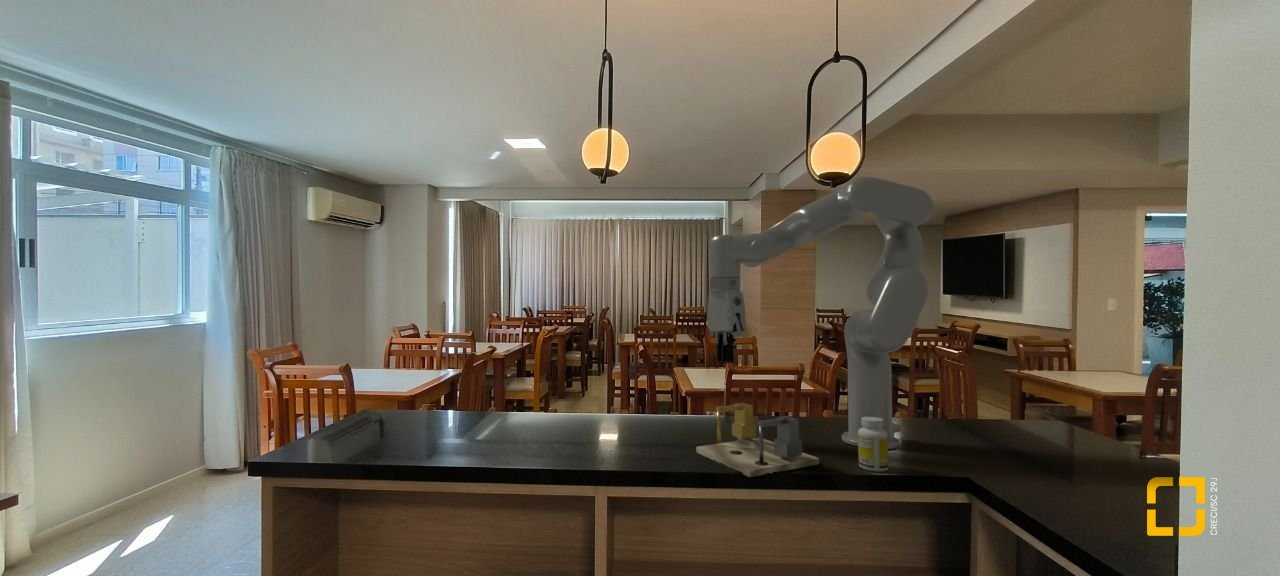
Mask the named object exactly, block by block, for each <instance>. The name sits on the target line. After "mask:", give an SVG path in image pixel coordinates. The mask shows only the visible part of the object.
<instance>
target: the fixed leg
mask: <svg viewBox="0 0 1280 576" xmlns="http://www.w3.org/2000/svg"><path fill="white" fill-rule="evenodd" d="M799 421H800V419H798V418H795V417H792V416H788V415H782V416H776V418H772V419H765V420H758V421H757V426H758V434H759V436H758V438H759V463H764V453H763V439H764V428H767V427H775V426H776V432H777V433H776V435H777V436H776V438H774V440H773V442H774V453H776V454H779V455H782V456H784V457H793V456H799V455H802V452H803V442H802V440H800V425H799V424H800V422H799Z"/></svg>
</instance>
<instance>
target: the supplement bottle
mask: <svg viewBox="0 0 1280 576" xmlns="http://www.w3.org/2000/svg"><path fill="white" fill-rule="evenodd" d="M861 423H862V426H863V428H860V429H859V430H858V446H857V447H858V448H857V451H858V454H857V455H858V465H859V467H860V468H862V469H863V470H866V471H868V472H878V473H879V472H881V473H882V472H886V471H888V470H889V449H888V436H887V432H886V431H884V430H883V429H882V427H883V425H884V424H883V419H881V418H877V417H862V418H861Z"/></svg>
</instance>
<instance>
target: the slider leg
mask: <svg viewBox="0 0 1280 576" xmlns="http://www.w3.org/2000/svg"><path fill="white" fill-rule="evenodd" d="M715 409H716V410H715V411H716V444H719V443H722V441H721V437H722V433H721V431H722V429H721V427H722V422H721V421H722V419H721V417H722V416H721V415H722V413H726V412H727V413H728V412H734V422H732V423H731V436H733V437H735V438H736V439H738V438H740V439H747V438H750V439H753V438H757V424H754V405H752V404H748V403H745V402H740V403H739V402H737V403H734V404H732V405H721V406H716V407H715Z"/></svg>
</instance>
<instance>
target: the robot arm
mask: <svg viewBox="0 0 1280 576" xmlns="http://www.w3.org/2000/svg"><path fill="white" fill-rule="evenodd" d="M934 208H935V206H934V201H933V199H932V197H931V196H930V195H929V193H927V192H926V191H925V190H922V189H920V188H918V187H915V186H910V185H906V184H902V183H898V182H893V181H890V180H886V179H882V178H877V177H871V176H860V177H855V178H854V179H852V180H851V181H849V182H847V184H845V185H843V186H841V187H840V188H838V189H836V190H833V191H831V192H830V193H828V194H826V195H824V196H822V197H820V198H818V199H816V200H814V201H812V202H810V203H807V204H806V205H804V206H802V207H800V208H798V209H797V210H795V211H794V212H792V213H790V214H789V215H788V216H786V217H785V218H784V219H782V220H780V221H779V222H778V223H776V224H774V225H773V226H771V227H768V228H767V229H765V230H763V231H761V232H759V233H758V232H756V233H749V234H743V235H741V234H740V235H734V234H733V235H732V234H718V235H714V236H712V237H711V238H710V240H709V246H708V247H709V295H708V300H707V313H706V315H707V316H706V320H707V329H708V330H709V335H710V336H712V337H713V339H714V344H715V345H716V361H718V362H723V363H724V362H727V363H729V362H734V345H736V341H737V339H739V338H741V337H742V336H743V332H745V331H746V328H747V322H746V321H747V319H746V306H745V305H746V304H745V298H744V294H743V293H744V292H743V291H742V290H741V265H743V266H744V267H747V268H757V267H759V266H761V265H763V264H765V263H768V261H770V260H772V259H775V258H776V257H778V256H781V255H782V254H784V253H786V252H788V251H790V250H793V249H795V248H798V247H800V246H803V245H806V244H808V243H811V242H813V241H816V240H817V239H819V238H821V237H823V236H825V235H828V234H829V233H831V232H833V231H835V230H837V229H838V228H840V227H843V226H844V225H846V224H849V223H851V222H853V221H854V220H857V219H859V218H860V217H862V216H863V215H866V214H870V215H873V216H874V219H875V220H874V221H875V223H876V225H877V226H876V227H878V228H879V230H880V232H881V234H882V236H883V238H884V239H883V240H884V247H883V251H882V254H881V255H880V259H879V260H878V263H877V265H876V267H875V269H874V271H873V273H872V276H871V278H870V280H869V282H868V284H867V287H866V297H867V299H868V301H869V302H870V303H871V304H872V305H874V306H873V309H863V310H858V311H856V312H854V313H853V314H851V315H850V316H849V318H848V319H847V320H846V322H845V324H844V328H843V329H844V330H843V333H844V335H843V336H844V342H845V343H844V344H845V348H846V349H845V350H846V355H847V356H846V357H847V403H848V404H847V408H848V409H847V410H848V411H847V414H848V415H847V416H848V425H847V426H848V431H845V432H843V433H841V440H842V441H843V442H845V443H846V444H849V445H851V446H855V447H858V430H859V429H860V428H863V426H862V423H861V418H862V417H877V418H881V419H883V424H884V425H883V427H882V429H883V430H884V431H886V432H887V436H888V450H891V449H897V448H899V447H900V446H901V440H900V439H899V438H898V437H896V436H895V433H898V432H899V433H901V432H903V431H904V426H903V424H902V423H893V397H892V396H893V395H892V394H893V391H892V390H893V388H892V383H893V382H892V378H893V377H892V375H893V373H892V363H891V358H890V357H891V356H890V353H892V352H895V351H898V350H900V349H901V348H902V347H904V345H905V344H906V343H907V341H909V338H910V336H911V335H912V332H913V330H914V328H915V326H916V323H917V322H918V320H919V318H920V315H921V313H922V311H923V309H924V307H925V304H926V301H927V299H928V294H929V284H928V281H927V278H926V277H925V275H924V274H923V273H922V272H921V271H920V270H919V266H920V264H921V262H922V259H923V255H924V248H925V247H924V241H923V239H922V238H923V237H922V235H921V233H920V230H919V228H918V226H921V225H923V224H924V223H926V222H927V221H929V220H930V218H931V217H932V215H933V213H934Z"/></svg>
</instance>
